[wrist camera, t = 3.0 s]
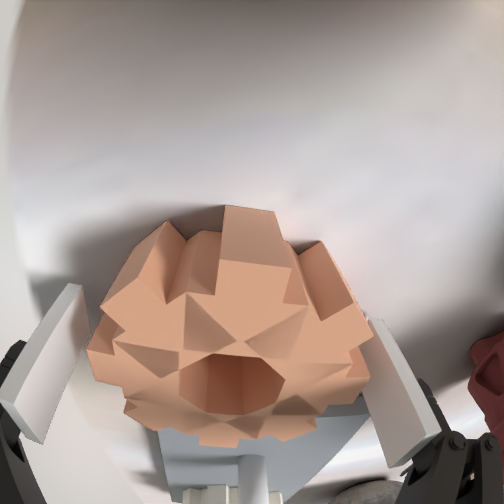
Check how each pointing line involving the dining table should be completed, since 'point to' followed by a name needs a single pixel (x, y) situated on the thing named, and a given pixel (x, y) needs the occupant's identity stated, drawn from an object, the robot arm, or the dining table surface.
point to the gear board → (279, 454)
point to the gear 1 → (230, 333)
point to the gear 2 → (221, 495)
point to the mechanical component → (490, 384)
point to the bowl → (370, 493)
